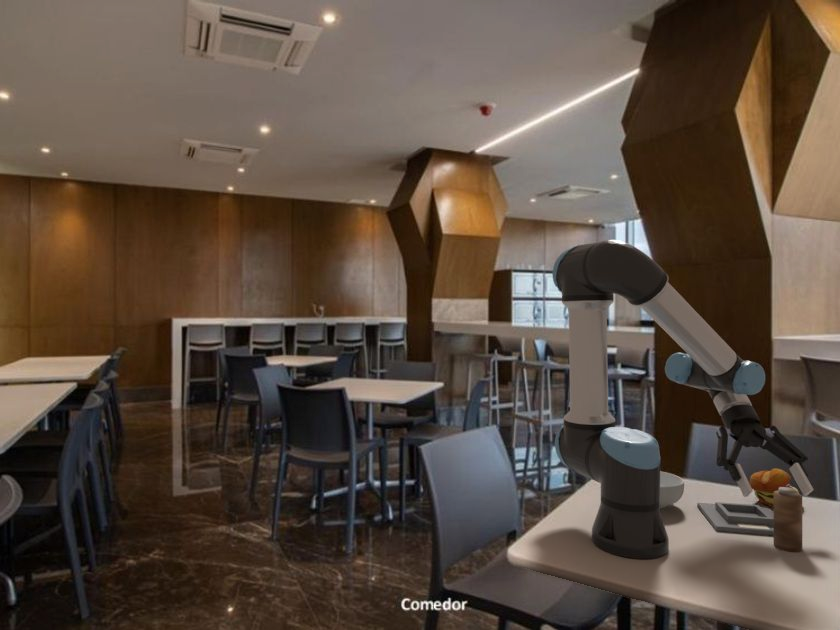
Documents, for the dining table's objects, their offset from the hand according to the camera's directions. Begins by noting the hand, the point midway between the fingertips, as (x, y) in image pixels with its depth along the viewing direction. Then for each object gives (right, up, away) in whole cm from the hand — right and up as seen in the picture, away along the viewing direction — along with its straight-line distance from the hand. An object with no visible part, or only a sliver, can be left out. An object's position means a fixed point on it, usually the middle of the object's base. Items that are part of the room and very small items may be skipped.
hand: (778, 493), depth 120 cm
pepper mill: (-1, -10, -5) cm, 11 cm away
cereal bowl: (-20, -10, +21) cm, 30 cm away
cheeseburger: (+13, -10, +21) cm, 27 cm away
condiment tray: (-2, -9, +9) cm, 14 cm away
